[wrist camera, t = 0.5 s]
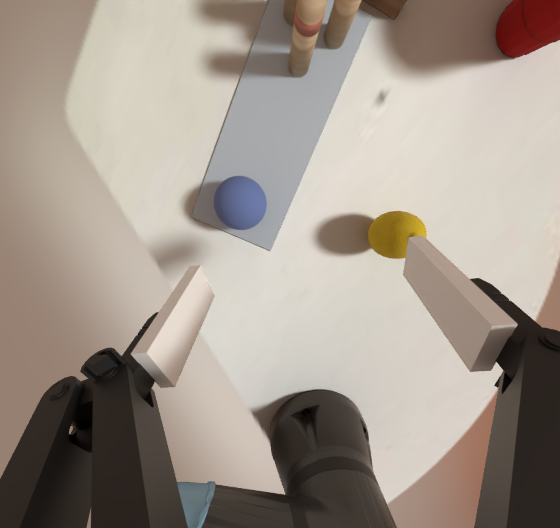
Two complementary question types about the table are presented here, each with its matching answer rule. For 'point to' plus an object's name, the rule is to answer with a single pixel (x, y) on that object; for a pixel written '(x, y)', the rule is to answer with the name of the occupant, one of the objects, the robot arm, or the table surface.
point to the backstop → (388, 6)
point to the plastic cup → (528, 26)
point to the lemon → (394, 233)
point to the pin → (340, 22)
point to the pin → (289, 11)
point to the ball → (240, 202)
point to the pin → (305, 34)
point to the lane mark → (277, 119)
